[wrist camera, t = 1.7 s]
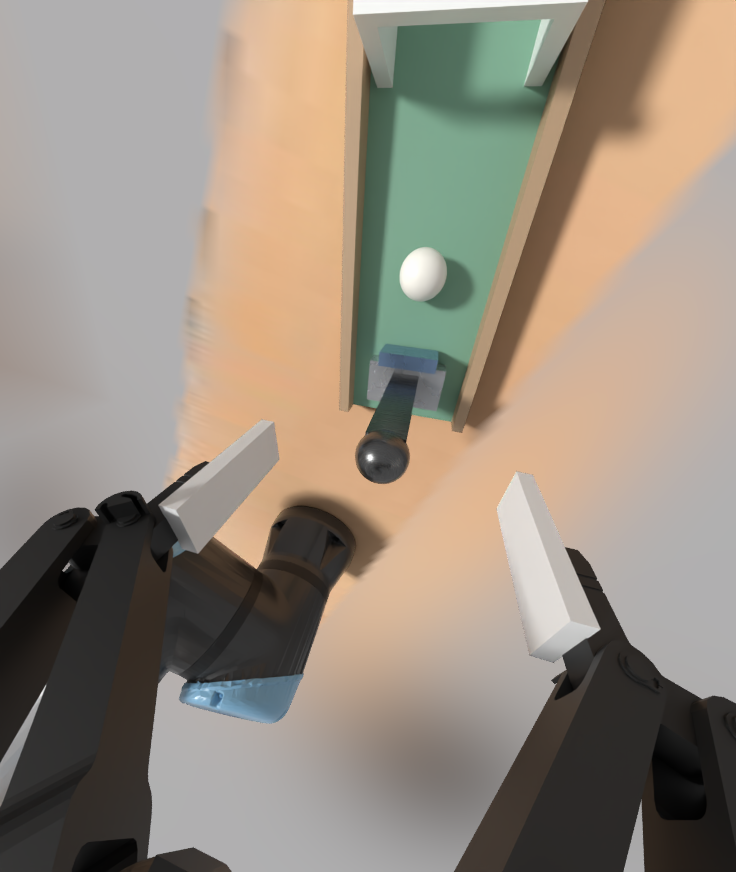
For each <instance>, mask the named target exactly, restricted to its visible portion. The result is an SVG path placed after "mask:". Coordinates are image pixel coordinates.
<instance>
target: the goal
mask: <svg viewBox="0 0 736 872" xmlns="http://www.w3.org/2000/svg"><path fill="white" fill-rule="evenodd" d="M587 2H588V0H353V16H354V19H355V22H356V25H357V28H358V31H359V34H360V37H361V40H362V43H363V46H364V49H365V52H366V55H367V58H368V61H369V64H370V67H371V70H372V73H373V76H374V79H375V82H376V85H377V88H393V76H394V64H395V52H396V40H397V28H398V26H412V25H434V24H456V23H477V22H499V21H520V20H541V22H540V26H539V30H538V34H537V38H536V41H535V45H534V49H533V53H532V57H531V61H530V64H529V68H528V72H527V76H526V80H525V84H524V86H542V85H543V83H544V81H545V79H546V77H547V75H548V74H549V72H550V70H551V68H552V66H553V64H554V63H555V61H556V59H557V57H558V55H559V54H560V52H561V50H562V48H563V46H564V44H565V43H566V41H567V39H568V37H569V35H570V33H571V32H572V30H573V28H574V26H575V24H576V22H577V21H578V19H579V17H580V15H581V13H582V12H583V10H584V8H585V6H586V4H587Z"/></svg>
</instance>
